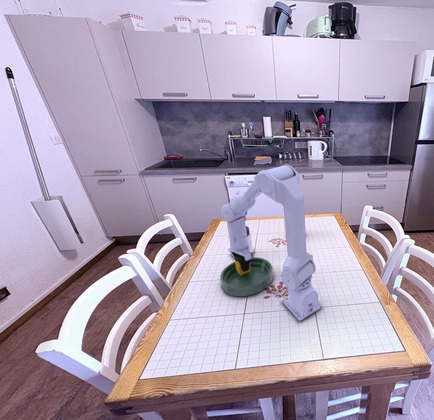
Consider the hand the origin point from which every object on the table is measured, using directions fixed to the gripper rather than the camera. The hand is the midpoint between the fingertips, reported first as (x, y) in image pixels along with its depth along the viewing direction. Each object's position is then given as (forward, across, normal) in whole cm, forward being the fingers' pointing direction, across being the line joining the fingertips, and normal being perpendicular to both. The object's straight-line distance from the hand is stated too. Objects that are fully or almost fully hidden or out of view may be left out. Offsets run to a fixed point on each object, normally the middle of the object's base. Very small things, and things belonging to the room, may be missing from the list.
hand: (243, 267), depth 87 cm
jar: (+4, -14, +5) cm, 16 cm away
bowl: (+4, +4, 0) cm, 5 cm away
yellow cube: (+1, 0, 0) cm, 1 cm away
